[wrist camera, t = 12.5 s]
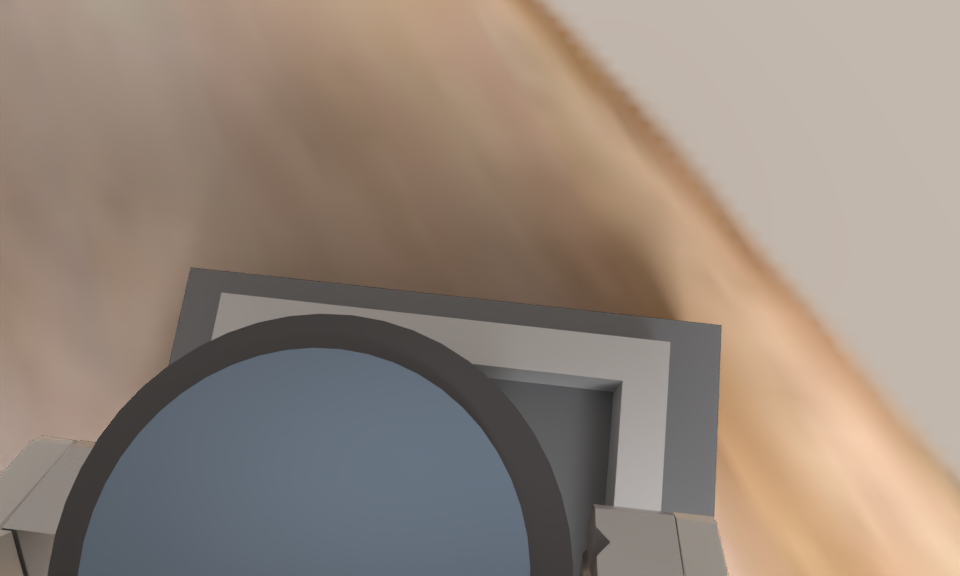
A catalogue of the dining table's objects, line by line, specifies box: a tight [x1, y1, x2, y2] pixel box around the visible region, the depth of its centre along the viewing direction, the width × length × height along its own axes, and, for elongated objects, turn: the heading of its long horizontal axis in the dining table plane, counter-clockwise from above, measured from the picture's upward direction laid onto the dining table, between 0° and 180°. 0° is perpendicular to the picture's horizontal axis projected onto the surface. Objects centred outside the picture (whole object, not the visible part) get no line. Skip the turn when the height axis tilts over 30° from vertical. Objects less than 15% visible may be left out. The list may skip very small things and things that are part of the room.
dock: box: [169, 268, 721, 576], centre depth 18 cm, size 12×11×4 cm
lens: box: [48, 314, 573, 576], centre depth 12 cm, size 5×5×10 cm
